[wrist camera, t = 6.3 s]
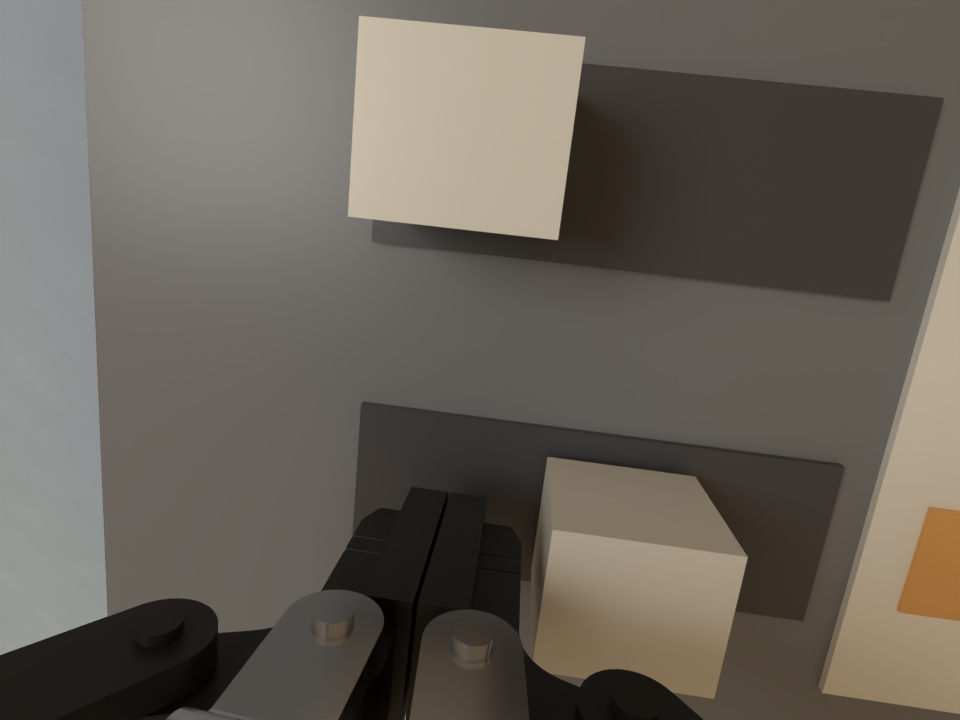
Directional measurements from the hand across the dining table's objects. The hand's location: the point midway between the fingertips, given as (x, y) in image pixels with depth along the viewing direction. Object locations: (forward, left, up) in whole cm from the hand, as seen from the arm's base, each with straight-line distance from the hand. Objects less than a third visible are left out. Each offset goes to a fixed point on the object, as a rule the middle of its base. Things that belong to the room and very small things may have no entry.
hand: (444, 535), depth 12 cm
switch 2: (+3, 0, -1) cm, 3 cm away
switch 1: (0, +7, -1) cm, 7 cm away
